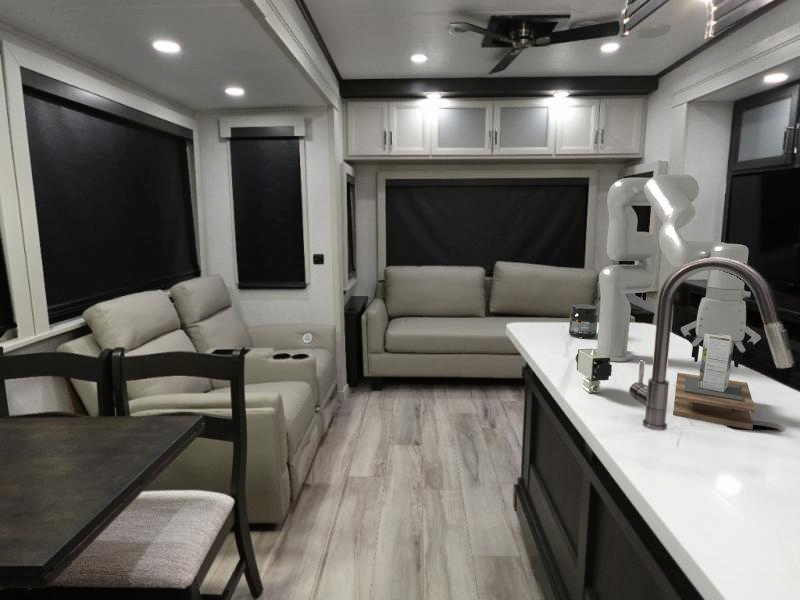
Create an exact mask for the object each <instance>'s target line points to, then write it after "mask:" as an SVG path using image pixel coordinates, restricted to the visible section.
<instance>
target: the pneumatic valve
mask: <svg viewBox="0 0 800 600" xmlns="http://www.w3.org/2000/svg"><path fill="white" fill-rule="evenodd" d="M595 349H596V348H579V349H577V353H576V355H575V362H576V371H577V372H579V373H580V374H582V375H583V376H585V377H583V378H582V380H583V381H582V383H583V384H582V389H583V390H584V391H585V392H587V393H588V394H591V393H597V394H598V393H600V392H601V391H600V389H601V385H600V384H601V381H609V380H610V377H612V368H613V364H611V361H610V358H609V357H607V356H606V354H604V353H600V352H598V351H596V350H595Z"/></svg>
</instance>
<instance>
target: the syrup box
mask: <svg viewBox="0 0 800 600" xmlns="http://www.w3.org/2000/svg"><path fill="white" fill-rule="evenodd" d="M734 346H735V342H732V337H731V336H728V335H722V334H713V333H705V335H704V339H703V343H702V352H701V353H702V354H701V361H700V368H699V375H698V376H699V383H698V387H699V388H703V389H708V390H714V391H719V392H725V390H726V388H727V387H728V383H729V380H730V375H731V367H732V366H731V365H732V360H733V354H734V353H733V352H734Z"/></svg>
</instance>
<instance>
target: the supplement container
mask: <svg viewBox="0 0 800 600" xmlns="http://www.w3.org/2000/svg"><path fill="white" fill-rule="evenodd" d="M598 321H599V315H598V306H596V305H592V304H585V303H584V304H582V303H581V304H580V303H579V304H572V306H571V312H570V314H569V327H568V329H569V330H568V334H569V335H570V336H571V335H572V336H571V337H573V336H576V337H582V338H581V339H584V338H589V339H593V338H592V337H594V338H596V337H597V336H598V332H597V331H598ZM576 337H575V338H576Z"/></svg>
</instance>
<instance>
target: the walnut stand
mask: <svg viewBox="0 0 800 600" xmlns="http://www.w3.org/2000/svg"><path fill="white" fill-rule="evenodd" d="M675 382H676V385H675V393H674V401H673V412H672V415H673V416H677V417H682V418H688V419H693V420H698V421H703V422H710V423H714V424H719V425H725V426H730V427H736V428H740V429H744V430H745V429H746V430H751V431H752V430H754V429H753V427H754V423H753V419H752V416H751V413H756V408H755V405H754V400H753V397H752V393H751V391H750V388H749V384H748V382H746V381H738V380H731V379H729V383H728V387H727V388H726V390H725V392H719V391H714V390H708V389H703V388H699V387H698V383H699V375H697V374H689V373H684V372H679V371H678V372H677V374H676V381H675Z"/></svg>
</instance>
